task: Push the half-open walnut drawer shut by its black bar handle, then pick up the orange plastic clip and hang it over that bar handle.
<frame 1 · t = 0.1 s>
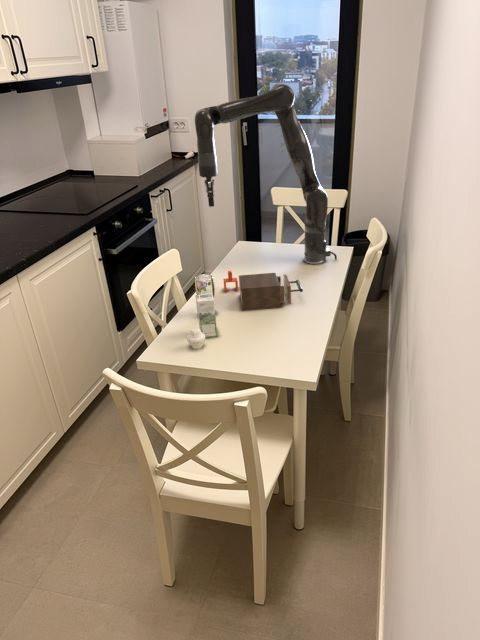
hand: (211, 203, 211), 29 cm above the table, tool pointing down, fingers open, 8 cm apart
clip: (231, 290, 206), on the table
cabinet: (259, 301, 196), on the table
syrup box: (208, 334, 175), on the table
drawer: (277, 289, 194), point 5 cm above the table, slide at 3.0 cm
muffin: (197, 347, 168), on the table
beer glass: (207, 314, 188), on the table
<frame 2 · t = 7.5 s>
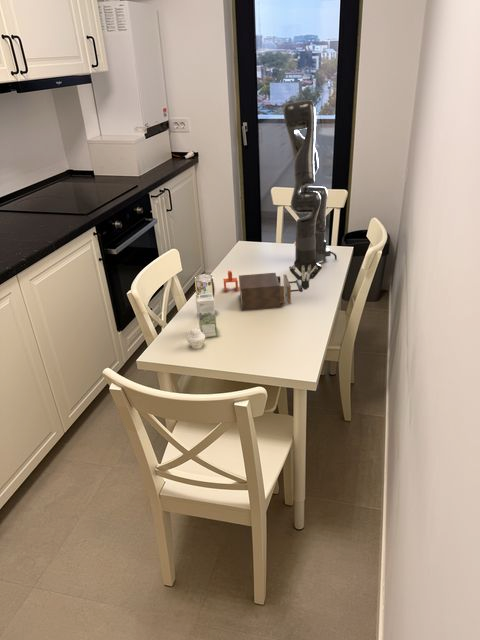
hand: (305, 288, 195), 4 cm above the table, tool pointing down, fingers closed
drawer: (277, 289, 194), point 5 cm above the table, slide at 2.9 cm, touching gripper
everything else where it was.
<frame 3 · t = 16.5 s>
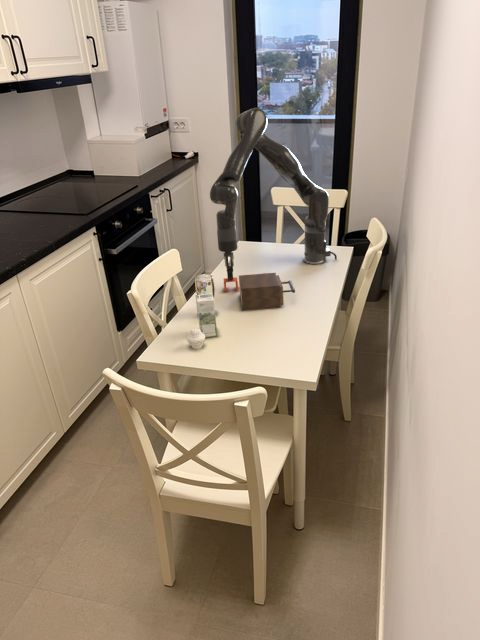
hand: (230, 278, 203), 5 cm above the table, tool pointing down, fingers closed on clip
clip: (231, 289, 206), on the table, touching gripper
drawer: (270, 290, 193), point 5 cm above the table, slide at 0.0 cm
everything else where it was.
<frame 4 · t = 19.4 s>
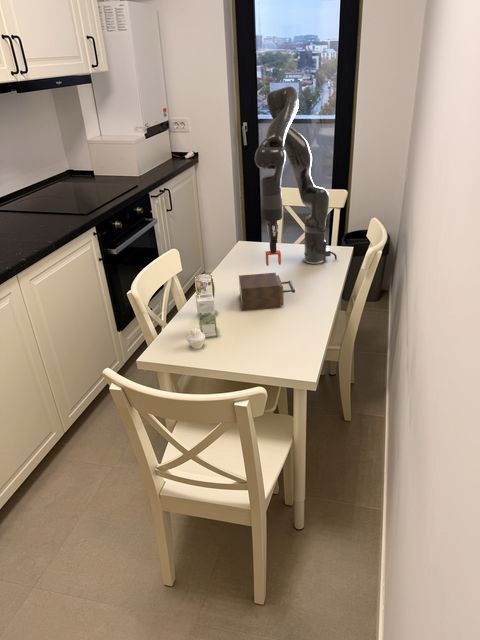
hand: (273, 251, 189), 19 cm above the table, tool pointing down, fingers closed on clip
clip: (273, 263, 192), point 14 cm above the table, touching gripper
everything else where it was.
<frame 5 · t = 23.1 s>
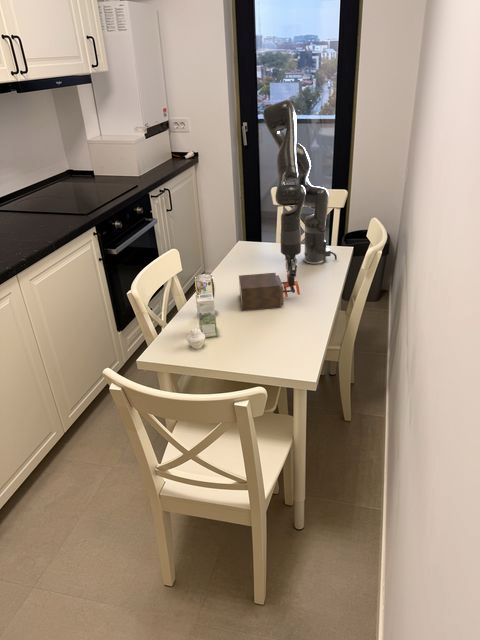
hand: (290, 283, 193), 7 cm above the table, tool pointing down, fingers closed
clip: (292, 294, 195), point 2 cm above the table, tilted 9°, touching drawer
drawer: (270, 290, 193), point 5 cm above the table, slide at 0.0 cm, touching clip
everything else where it was.
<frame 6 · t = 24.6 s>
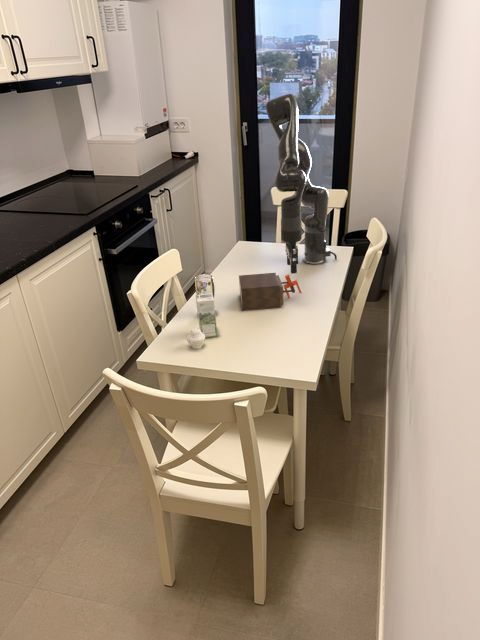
hand: (291, 268, 190), 13 cm above the table, tool pointing down, fingers open, 8 cm apart
clip: (294, 294, 195), point 2 cm above the table, tilted 20°, touching drawer
drawer: (270, 290, 193), point 5 cm above the table, slide at 0.0 cm, touching cabinet, clip
everything else where it was.
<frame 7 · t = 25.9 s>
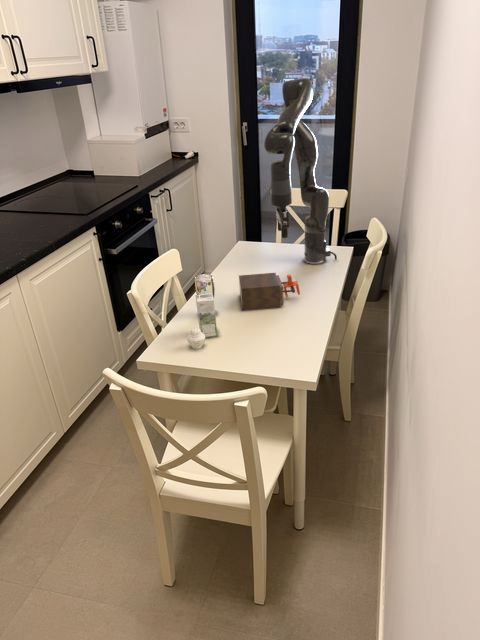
hand: (282, 233, 191), 24 cm above the table, tool pointing down, fingers open, 8 cm apart
clip: (292, 294, 195), point 2 cm above the table, tilted 9°, touching drawer
everything else where it was.
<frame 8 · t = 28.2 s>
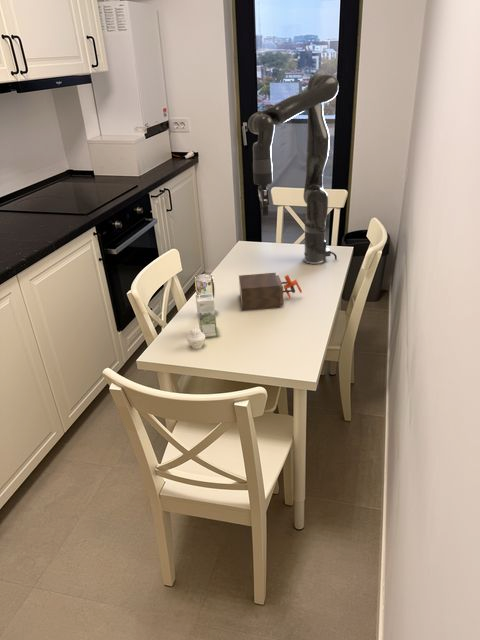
hand: (264, 212, 201), 28 cm above the table, tool pointing down, fingers open, 8 cm apart
clip: (295, 293, 195), point 2 cm above the table, tilted 24°, touching drawer
everything else where it was.
at the end: drawer slide at 0.0 cm; clip 1.5 cm from the target spot in the drawer, point 2.2 cm above the cabinet's base; clip touching drawer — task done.
